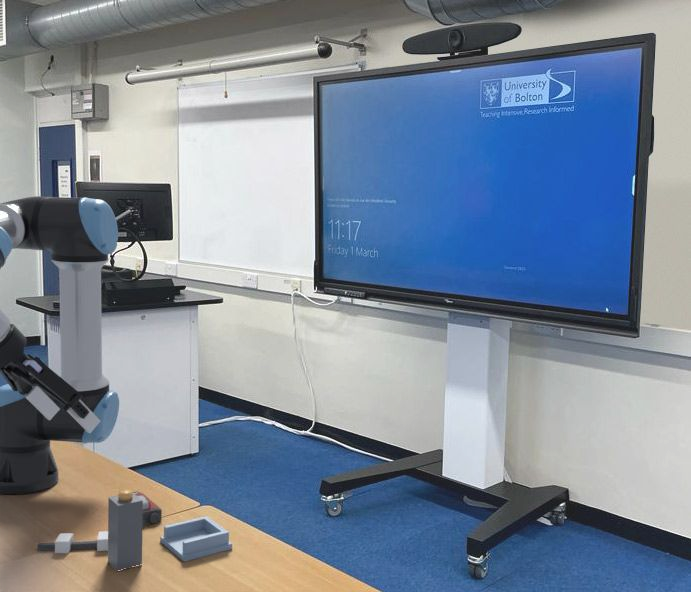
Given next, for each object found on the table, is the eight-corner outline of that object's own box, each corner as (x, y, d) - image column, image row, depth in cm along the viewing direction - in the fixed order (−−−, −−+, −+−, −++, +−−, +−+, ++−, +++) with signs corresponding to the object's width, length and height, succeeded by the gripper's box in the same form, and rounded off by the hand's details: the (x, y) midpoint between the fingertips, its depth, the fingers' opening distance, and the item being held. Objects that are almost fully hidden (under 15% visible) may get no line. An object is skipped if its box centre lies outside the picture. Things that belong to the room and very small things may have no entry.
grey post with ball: (107, 561, 137) (108, 490, 136) (131, 555, 140) (132, 486, 139) (117, 571, 134) (118, 498, 132) (141, 565, 137) (142, 493, 135)
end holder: (160, 541, 146) (160, 525, 146) (207, 530, 153) (207, 514, 152) (183, 561, 139) (183, 544, 138) (232, 548, 145) (232, 532, 144)
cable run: (39, 545, 143) (38, 534, 142) (129, 541, 146) (129, 530, 146) (35, 554, 139) (35, 543, 139) (128, 550, 142) (128, 538, 142)
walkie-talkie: (100, 510, 161) (135, 546, 145) (100, 490, 161) (135, 523, 145) (140, 502, 166) (178, 536, 150) (140, 482, 166) (178, 514, 150)
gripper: (-58, 347, 130) (24, 425, 142) (12, 363, 114) (97, 450, 126) (-24, 315, 134) (52, 394, 146) (47, 327, 118) (127, 415, 130)
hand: (73, 420), depth 136 cm, fingers open, 13 cm apart
